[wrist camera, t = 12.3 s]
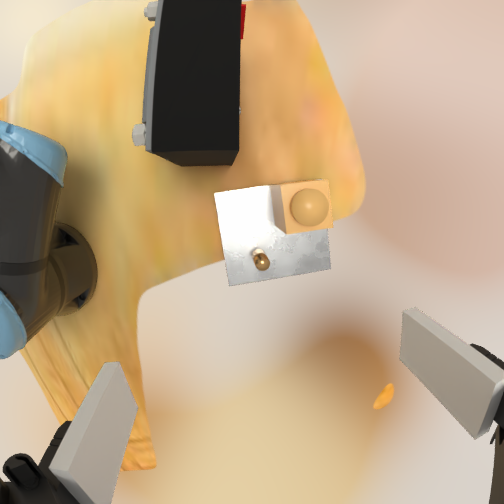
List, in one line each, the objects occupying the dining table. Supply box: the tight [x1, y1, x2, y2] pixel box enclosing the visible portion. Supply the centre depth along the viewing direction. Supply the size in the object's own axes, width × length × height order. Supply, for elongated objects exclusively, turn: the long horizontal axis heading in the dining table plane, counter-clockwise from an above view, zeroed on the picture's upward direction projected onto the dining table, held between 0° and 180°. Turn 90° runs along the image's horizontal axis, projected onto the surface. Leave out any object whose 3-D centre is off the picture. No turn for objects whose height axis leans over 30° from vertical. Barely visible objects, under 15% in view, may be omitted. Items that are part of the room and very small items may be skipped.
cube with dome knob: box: [270, 179, 333, 235], centre depth 41 cm, size 6×6×10 cm
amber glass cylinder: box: [252, 249, 270, 271], centre depth 44 cm, size 2×2×5 cm
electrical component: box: [132, 0, 246, 166], centre depth 32 cm, size 18×10×20 cm, turn 0°
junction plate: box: [214, 179, 331, 286], centre depth 47 cm, size 16×14×1 cm
